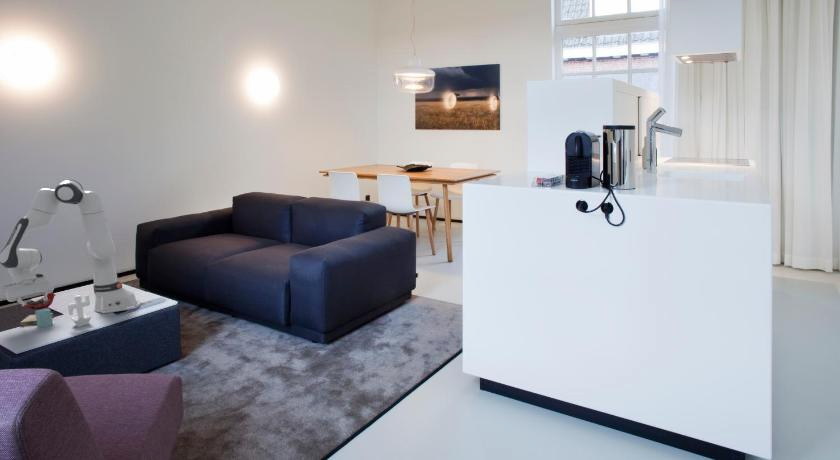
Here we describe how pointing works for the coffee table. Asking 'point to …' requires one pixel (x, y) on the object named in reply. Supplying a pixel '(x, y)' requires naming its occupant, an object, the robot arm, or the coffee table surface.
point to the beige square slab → (31, 320)
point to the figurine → (80, 310)
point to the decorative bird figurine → (41, 302)
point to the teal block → (43, 317)
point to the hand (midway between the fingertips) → (35, 302)
